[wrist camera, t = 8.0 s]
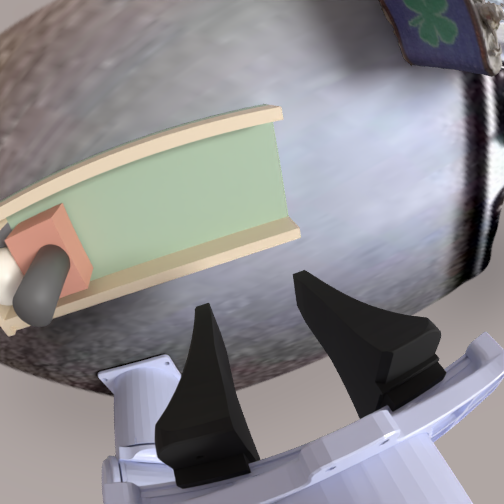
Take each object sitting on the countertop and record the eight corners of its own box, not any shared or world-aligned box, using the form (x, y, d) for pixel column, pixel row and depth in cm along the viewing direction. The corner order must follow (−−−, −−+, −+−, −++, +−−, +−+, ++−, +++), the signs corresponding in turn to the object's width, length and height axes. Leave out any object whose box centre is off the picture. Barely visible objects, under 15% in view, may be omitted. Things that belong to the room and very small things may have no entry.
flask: (361, -27, 14) (467, -53, 6) (384, -31, 14) (486, -50, 5) (406, 69, 20) (514, 86, 11) (425, 60, 19) (527, 76, 11)
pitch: (284, 220, 24) (303, 241, 21) (19, 309, 20) (8, 336, 17) (264, 104, 19) (284, 107, 16) (-32, 220, 15) (-53, 241, 12)
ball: (37, 274, 19) (44, 295, 17) (1, 301, 17) (3, 325, 14) (14, 231, 17) (15, 244, 14) (-25, 259, 15) (-30, 278, 12)
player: (93, 267, 19) (76, 339, 14) (50, 283, 19) (25, 353, 13) (62, 202, 17) (24, 258, 11) (18, 223, 16) (-27, 282, 10)
